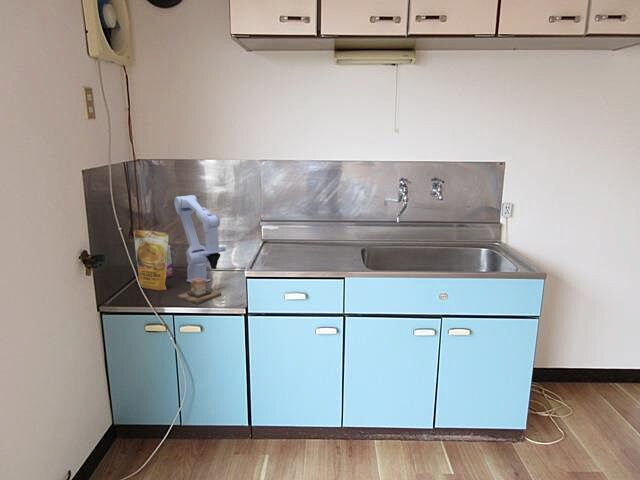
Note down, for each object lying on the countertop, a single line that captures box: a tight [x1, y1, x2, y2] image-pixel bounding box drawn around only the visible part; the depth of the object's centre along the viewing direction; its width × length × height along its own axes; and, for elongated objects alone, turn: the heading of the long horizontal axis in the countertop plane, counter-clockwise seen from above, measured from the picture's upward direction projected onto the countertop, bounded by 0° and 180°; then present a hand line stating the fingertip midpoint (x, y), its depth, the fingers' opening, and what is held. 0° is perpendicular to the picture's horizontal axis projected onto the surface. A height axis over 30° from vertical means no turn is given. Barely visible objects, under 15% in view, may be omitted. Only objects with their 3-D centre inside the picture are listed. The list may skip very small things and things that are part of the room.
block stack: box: [190, 278, 207, 295], centre depth 218 cm, size 4×4×7 cm
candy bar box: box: [166, 244, 174, 279], centre depth 243 cm, size 11×5×16 cm, turn 148°
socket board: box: [176, 288, 222, 305], centre depth 219 cm, size 14×14×2 cm
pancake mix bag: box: [132, 229, 170, 291], centre depth 228 cm, size 7×19×28 cm, turn 69°
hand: (213, 268), depth 226 cm, fingers closed
